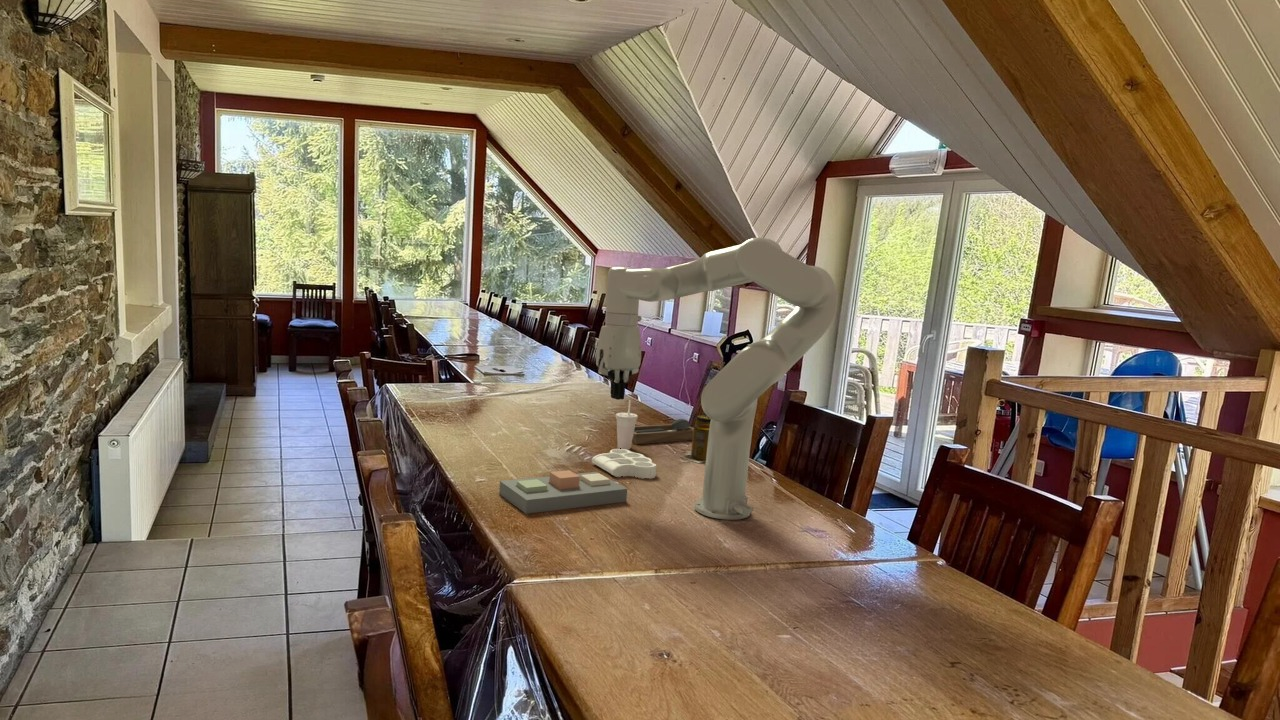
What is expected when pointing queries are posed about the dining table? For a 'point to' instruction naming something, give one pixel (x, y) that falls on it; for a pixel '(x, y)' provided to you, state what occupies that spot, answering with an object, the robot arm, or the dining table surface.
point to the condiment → (699, 439)
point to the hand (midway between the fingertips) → (617, 398)
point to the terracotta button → (564, 479)
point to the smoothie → (625, 428)
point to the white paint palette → (625, 464)
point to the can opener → (676, 425)
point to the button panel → (561, 495)
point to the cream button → (594, 479)
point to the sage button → (531, 486)
